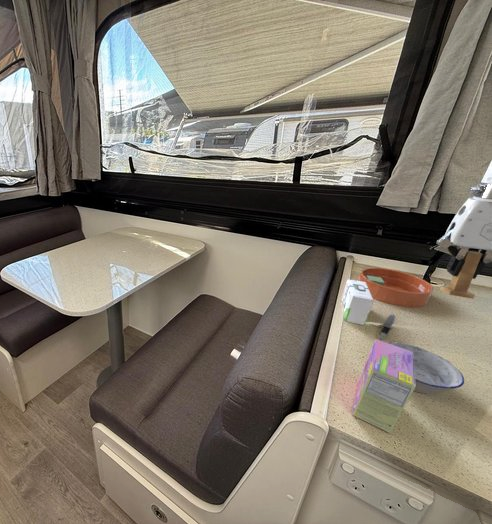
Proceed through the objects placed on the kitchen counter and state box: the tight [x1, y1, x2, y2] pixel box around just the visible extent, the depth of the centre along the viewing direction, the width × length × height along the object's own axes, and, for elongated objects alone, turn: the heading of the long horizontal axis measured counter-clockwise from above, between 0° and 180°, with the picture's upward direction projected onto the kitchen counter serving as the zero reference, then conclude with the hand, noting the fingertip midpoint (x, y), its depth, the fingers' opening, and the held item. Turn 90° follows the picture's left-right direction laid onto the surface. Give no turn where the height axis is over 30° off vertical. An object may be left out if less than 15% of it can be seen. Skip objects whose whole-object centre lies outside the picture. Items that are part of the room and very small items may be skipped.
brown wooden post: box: [439, 250, 482, 300], centre depth 61 cm, size 4×4×10 cm
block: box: [366, 275, 384, 286], centre depth 92 cm, size 4×4×4 cm
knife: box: [376, 314, 395, 340], centre depth 75 cm, size 15×1×3 cm
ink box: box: [341, 278, 375, 326], centre depth 80 cm, size 9×5×12 cm
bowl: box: [387, 341, 465, 395], centre depth 58 cm, size 13×13×5 cm
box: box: [351, 339, 416, 434], centre depth 51 cm, size 10×6×12 cm, turn 138°
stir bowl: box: [357, 267, 434, 308], centre depth 90 cm, size 18×18×6 cm
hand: (460, 274), depth 62 cm, fingers closed on brown wooden post, 2 cm apart
